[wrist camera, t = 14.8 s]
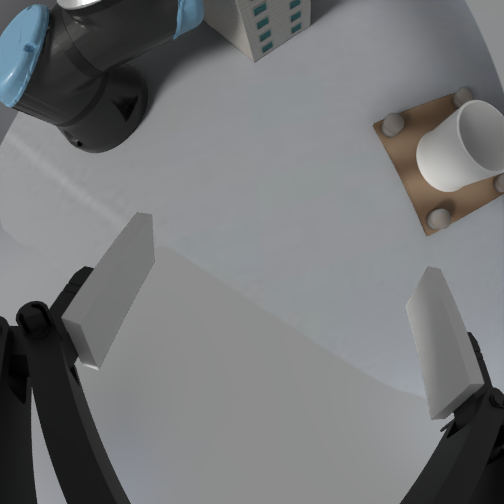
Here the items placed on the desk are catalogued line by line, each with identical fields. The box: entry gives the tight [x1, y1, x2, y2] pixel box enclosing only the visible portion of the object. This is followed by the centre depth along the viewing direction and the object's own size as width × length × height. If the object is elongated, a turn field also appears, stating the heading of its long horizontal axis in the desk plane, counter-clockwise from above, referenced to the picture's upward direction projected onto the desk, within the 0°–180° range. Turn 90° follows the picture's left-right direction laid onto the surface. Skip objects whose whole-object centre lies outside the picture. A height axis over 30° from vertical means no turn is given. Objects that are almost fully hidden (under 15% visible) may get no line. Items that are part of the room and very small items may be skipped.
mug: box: [416, 100, 504, 192], centre depth 30 cm, size 12×8×12 cm
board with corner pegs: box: [373, 87, 504, 236], centre depth 35 cm, size 16×16×4 cm
